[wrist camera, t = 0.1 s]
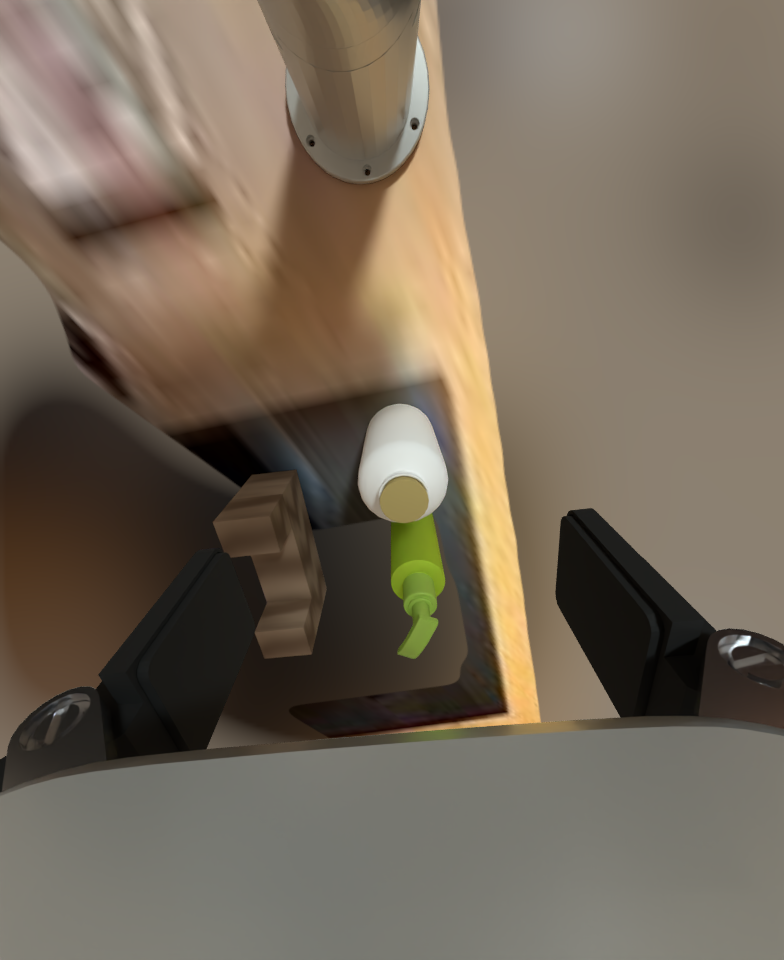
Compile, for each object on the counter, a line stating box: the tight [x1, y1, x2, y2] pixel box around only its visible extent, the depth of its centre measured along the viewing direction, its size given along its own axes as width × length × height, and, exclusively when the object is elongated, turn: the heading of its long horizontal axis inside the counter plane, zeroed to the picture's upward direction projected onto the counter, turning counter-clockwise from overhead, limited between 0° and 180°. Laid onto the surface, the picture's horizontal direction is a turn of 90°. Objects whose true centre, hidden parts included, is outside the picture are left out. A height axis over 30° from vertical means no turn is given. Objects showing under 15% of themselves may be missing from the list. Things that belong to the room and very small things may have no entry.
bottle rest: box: [213, 470, 327, 659], centre depth 48 cm, size 20×6×12 cm, turn 7°
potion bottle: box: [358, 404, 448, 523], centre depth 39 cm, size 8×8×18 cm
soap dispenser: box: [391, 513, 445, 659], centre depth 44 cm, size 6×7×20 cm
